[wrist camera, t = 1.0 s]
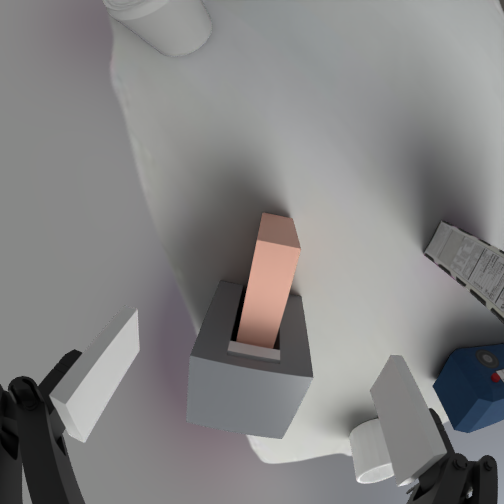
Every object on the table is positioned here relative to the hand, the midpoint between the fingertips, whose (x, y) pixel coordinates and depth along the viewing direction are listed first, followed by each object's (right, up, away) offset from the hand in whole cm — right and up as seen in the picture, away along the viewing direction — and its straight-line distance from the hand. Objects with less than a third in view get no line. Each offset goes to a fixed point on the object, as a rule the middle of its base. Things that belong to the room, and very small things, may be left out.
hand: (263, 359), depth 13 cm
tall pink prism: (0, +2, +17) cm, 17 cm away
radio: (+38, -13, +20) cm, 45 cm away
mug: (+22, -26, +26) cm, 43 cm away
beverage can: (-8, +28, +9) cm, 30 cm away
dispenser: (0, -3, +19) cm, 19 cm away
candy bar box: (+25, +5, +14) cm, 29 cm away
